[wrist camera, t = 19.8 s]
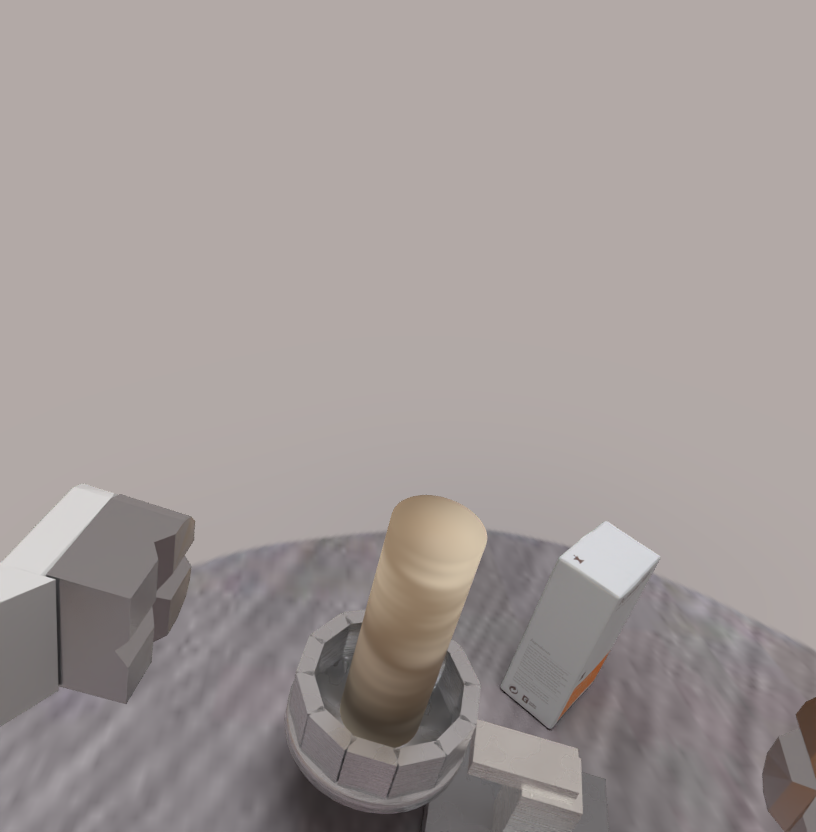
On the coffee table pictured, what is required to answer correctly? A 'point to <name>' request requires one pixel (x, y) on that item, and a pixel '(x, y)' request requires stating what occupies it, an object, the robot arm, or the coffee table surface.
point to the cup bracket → (435, 753)
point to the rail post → (410, 617)
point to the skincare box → (578, 621)
